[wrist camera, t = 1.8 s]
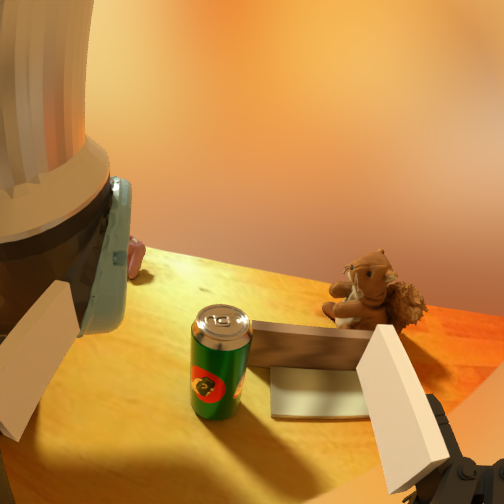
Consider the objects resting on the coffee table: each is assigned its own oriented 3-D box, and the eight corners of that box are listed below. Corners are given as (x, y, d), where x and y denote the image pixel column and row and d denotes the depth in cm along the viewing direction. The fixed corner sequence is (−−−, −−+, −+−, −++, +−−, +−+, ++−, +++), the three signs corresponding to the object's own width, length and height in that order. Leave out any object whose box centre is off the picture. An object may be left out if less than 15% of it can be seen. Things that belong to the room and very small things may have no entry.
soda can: (242, 421, 28) (261, 341, 22) (192, 424, 27) (193, 342, 21) (234, 384, 32) (248, 301, 27) (188, 386, 31) (190, 300, 26)
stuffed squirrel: (317, 306, 48) (339, 231, 42) (395, 318, 47) (424, 250, 41) (319, 349, 39) (349, 265, 33) (409, 359, 39) (449, 284, 33)
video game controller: (144, 278, 51) (151, 238, 51) (132, 280, 46) (140, 237, 46) (98, 266, 51) (104, 228, 51) (84, 267, 47) (90, 226, 47)
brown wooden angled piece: (242, 414, 29) (250, 380, 26) (245, 356, 37) (252, 320, 34) (391, 415, 29) (415, 384, 27) (374, 364, 37) (392, 331, 35)
